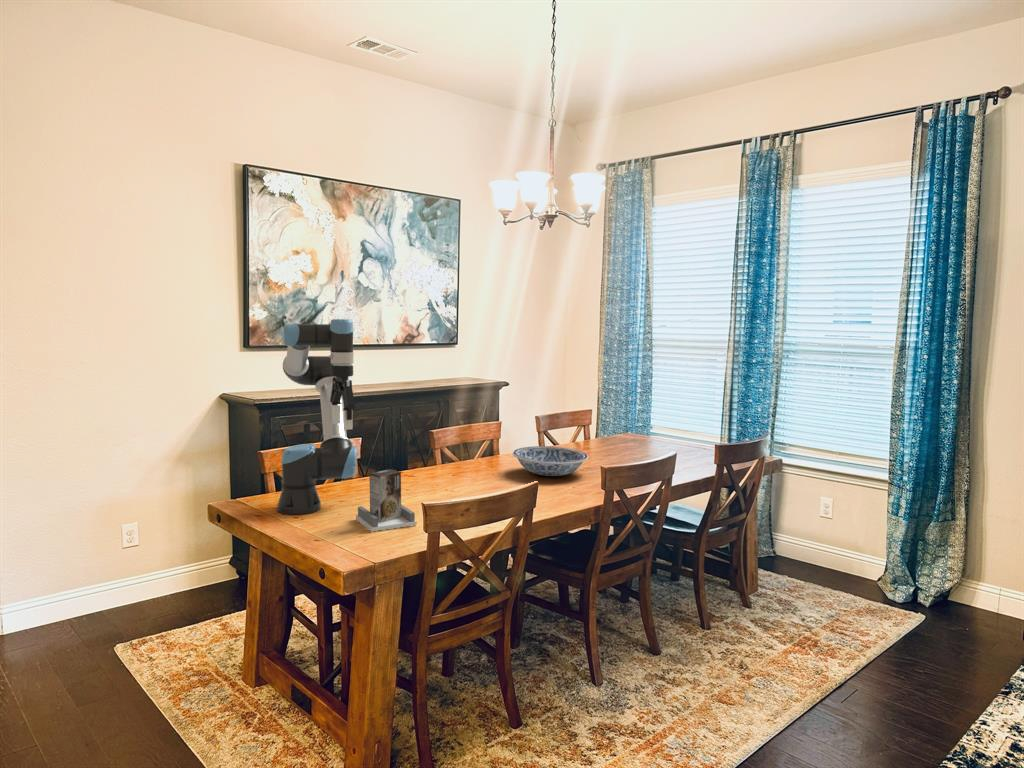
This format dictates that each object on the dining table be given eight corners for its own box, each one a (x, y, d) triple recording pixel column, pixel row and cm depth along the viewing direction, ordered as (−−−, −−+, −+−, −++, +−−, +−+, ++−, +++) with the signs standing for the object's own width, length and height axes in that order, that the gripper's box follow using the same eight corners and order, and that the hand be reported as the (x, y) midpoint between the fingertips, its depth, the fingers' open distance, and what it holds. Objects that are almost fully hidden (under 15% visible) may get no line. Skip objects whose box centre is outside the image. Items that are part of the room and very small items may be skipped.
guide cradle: (355, 519, 246) (355, 507, 245) (399, 513, 254) (399, 501, 253) (371, 532, 232) (371, 518, 231) (416, 525, 240) (416, 512, 240)
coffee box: (390, 513, 248) (390, 468, 247) (401, 517, 244) (401, 471, 242) (368, 518, 242) (368, 472, 240) (380, 522, 237) (380, 475, 236)
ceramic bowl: (560, 487, 297) (561, 464, 296) (496, 475, 318) (497, 453, 317) (601, 473, 324) (602, 452, 323) (540, 463, 345) (540, 443, 344)
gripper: (320, 362, 249) (321, 422, 251) (342, 367, 227) (342, 432, 230) (341, 362, 253) (342, 420, 255) (364, 367, 231) (364, 431, 233)
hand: (342, 426), depth 242 cm, fingers open, 13 cm apart
